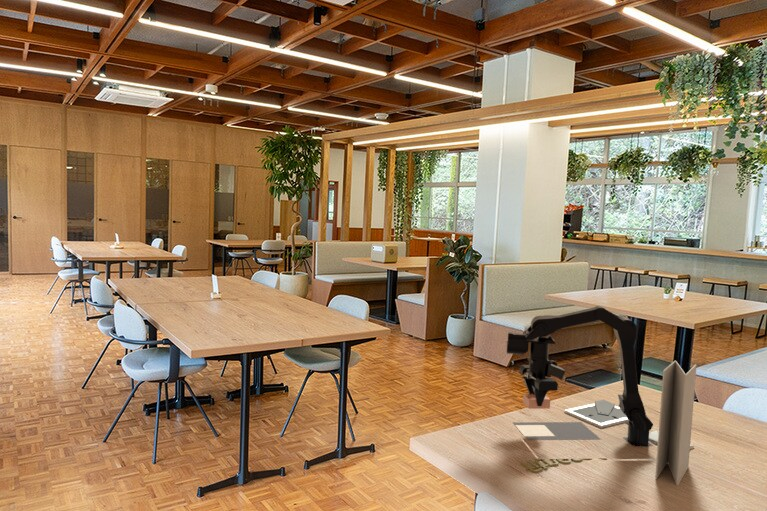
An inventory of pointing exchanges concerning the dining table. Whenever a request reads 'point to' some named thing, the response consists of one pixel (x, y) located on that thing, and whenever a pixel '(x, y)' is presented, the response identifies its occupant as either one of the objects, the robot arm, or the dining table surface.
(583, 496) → the dining table surface
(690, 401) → the brochure
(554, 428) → the mat
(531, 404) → the card deck
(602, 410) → the picture frame
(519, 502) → the dining table surface
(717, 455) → the dining table surface
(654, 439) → the hard drive
